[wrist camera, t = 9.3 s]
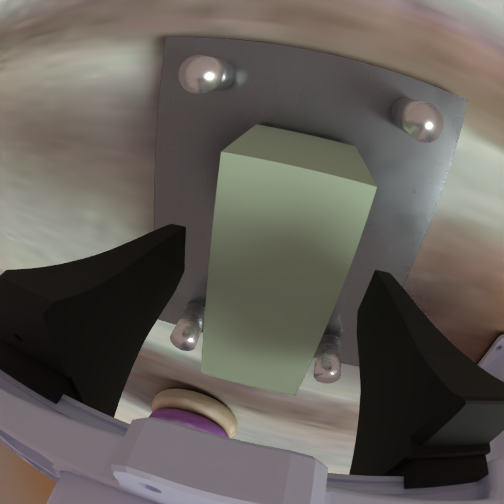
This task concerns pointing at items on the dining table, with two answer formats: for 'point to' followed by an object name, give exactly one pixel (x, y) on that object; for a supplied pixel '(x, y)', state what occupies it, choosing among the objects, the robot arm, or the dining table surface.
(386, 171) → the plate
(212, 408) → the stacking toy
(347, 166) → the block
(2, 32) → the dining table surface
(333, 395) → the dining table surface
